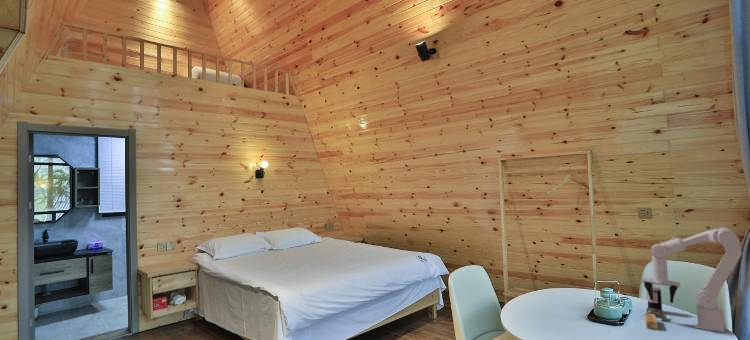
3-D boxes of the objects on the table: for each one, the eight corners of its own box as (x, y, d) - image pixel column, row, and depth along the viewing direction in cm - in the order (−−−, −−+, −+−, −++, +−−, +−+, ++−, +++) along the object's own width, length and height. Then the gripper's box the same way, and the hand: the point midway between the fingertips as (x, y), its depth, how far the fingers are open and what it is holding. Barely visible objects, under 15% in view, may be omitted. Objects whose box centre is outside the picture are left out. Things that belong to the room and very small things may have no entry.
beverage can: (664, 313, 201) (662, 288, 201) (651, 313, 202) (649, 288, 202) (658, 309, 206) (657, 285, 207) (646, 309, 207) (644, 285, 208)
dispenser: (666, 318, 193) (665, 307, 194) (663, 321, 189) (662, 310, 190) (650, 315, 198) (649, 305, 198) (647, 318, 194) (646, 308, 194)
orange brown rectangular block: (655, 322, 190) (654, 314, 190) (657, 330, 180) (657, 322, 180) (644, 320, 192) (644, 313, 192) (646, 329, 182) (646, 321, 182)
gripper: (639, 270, 193) (640, 300, 192) (677, 274, 182) (679, 305, 182) (643, 267, 197) (644, 296, 197) (680, 271, 187) (682, 302, 187)
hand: (661, 300), depth 190 cm, fingers open, 7 cm apart
